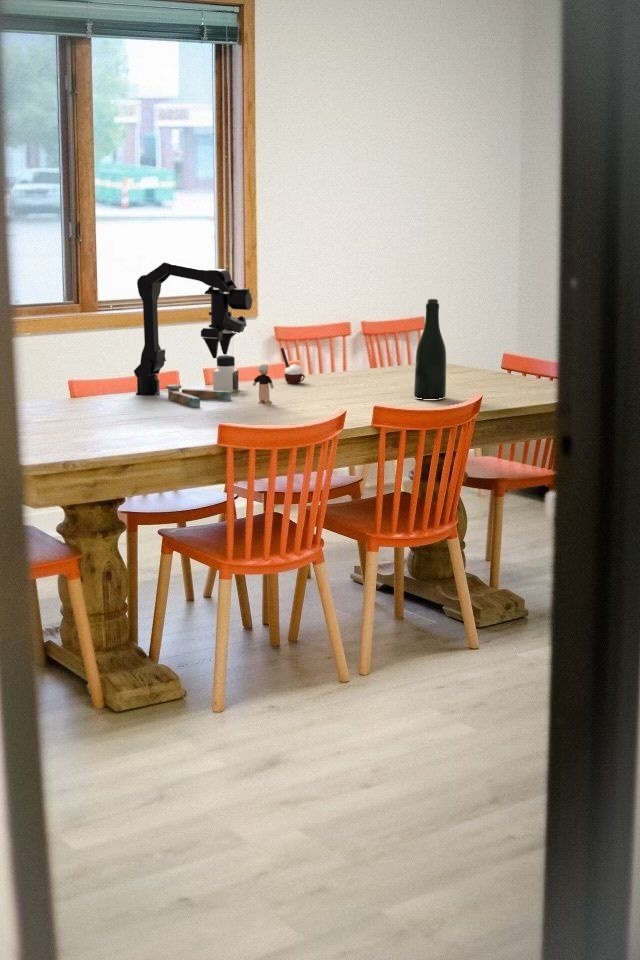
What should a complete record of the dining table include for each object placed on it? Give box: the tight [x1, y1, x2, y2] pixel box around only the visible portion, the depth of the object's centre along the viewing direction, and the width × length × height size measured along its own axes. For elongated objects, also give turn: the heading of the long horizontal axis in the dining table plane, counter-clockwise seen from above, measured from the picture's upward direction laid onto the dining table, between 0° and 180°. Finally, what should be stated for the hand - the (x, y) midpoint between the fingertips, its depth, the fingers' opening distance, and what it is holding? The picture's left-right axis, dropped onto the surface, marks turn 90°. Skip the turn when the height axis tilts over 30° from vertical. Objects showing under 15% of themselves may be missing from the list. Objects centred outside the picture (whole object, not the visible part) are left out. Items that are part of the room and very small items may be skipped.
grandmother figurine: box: [252, 363, 274, 405], centre depth 395 cm, size 8×4×13 cm, turn 71°
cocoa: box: [280, 347, 306, 385], centre depth 434 cm, size 10×6×12 cm, turn 38°
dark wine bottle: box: [413, 298, 447, 399], centre depth 403 cm, size 10×10×33 cm
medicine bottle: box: [212, 354, 239, 394], centre depth 418 cm, size 7×7×12 cm
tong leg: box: [168, 390, 201, 408], centre depth 394 cm, size 16×2×3 cm, turn 34°
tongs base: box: [165, 384, 232, 402], centre depth 402 cm, size 22×6×4 cm, turn 74°
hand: (219, 356), depth 401 cm, fingers open, 9 cm apart
